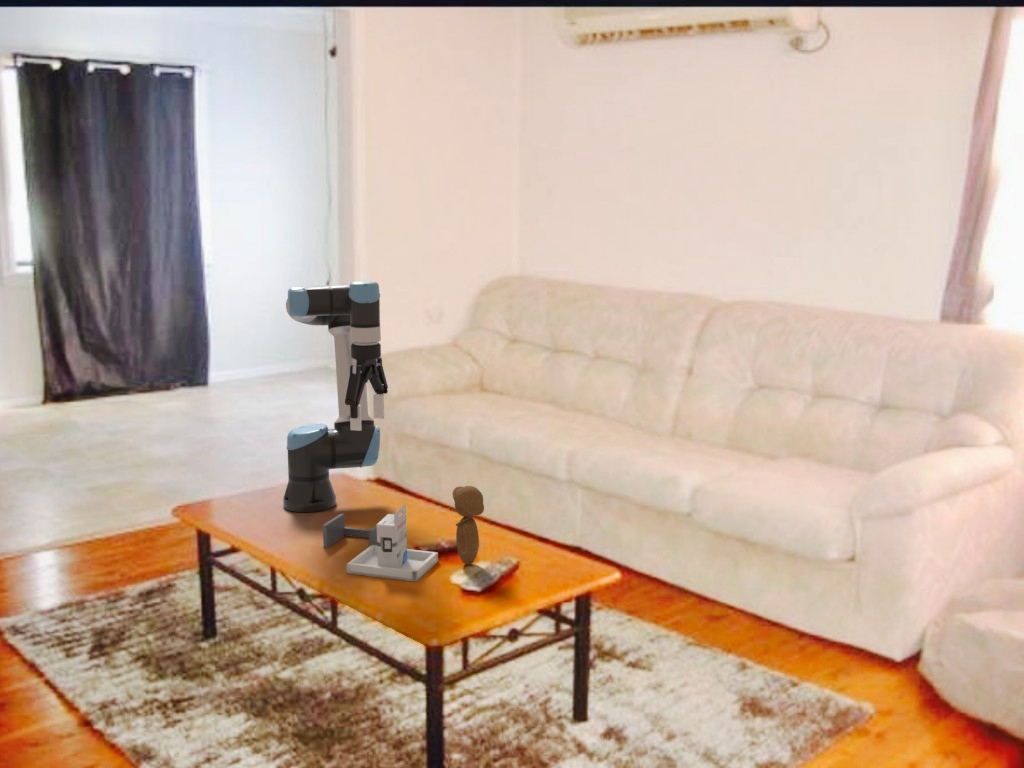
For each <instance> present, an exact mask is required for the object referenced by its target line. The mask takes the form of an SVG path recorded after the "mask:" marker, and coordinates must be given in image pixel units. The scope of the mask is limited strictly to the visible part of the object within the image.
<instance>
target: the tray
mask: <svg viewBox="0 0 1024 768" xmlns="http://www.w3.org/2000/svg"><path fill="white" fill-rule="evenodd" d="M438 562H439V552H436V551H427V550H418V549H413V548H412V549H411V548H407V560H406V561H405V562H404V564H403V565H402V566H401V567H400V568H399V569H398V568H390V567H382V566H378V557H377V545H371V546H370V547H369V546H368V547H367V548H366V549H365V550H363V551H362V552H360V553H358V555H356V556H355V557H354V558H353V559H351V560H350V561H348V562H347V563H346V574H351V575H359V576H367V577H374V578H380V579H381V578H382V579H390V580H398V581H403V582H404V581H407V582H418V581H419V580H420V579H421V578H422V577H423V576H424V575H425V574H426V573H427V572H429V571H430V570H431V569H432V568H433V567H434V566H435V565H436V564H437V563H438Z"/></svg>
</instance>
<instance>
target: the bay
mask: <svg viewBox="0 0 1024 768" xmlns="http://www.w3.org/2000/svg"><path fill="white" fill-rule="evenodd" d="M345 524H346V523H345V514H344V513H339V514H337V515H336V516H335V517H333V518H332V519H330V520H329V521H326V522H325V523H324V524H323V525H322V537H323V541H322V542H323V548H326V549H328V548H329V547H330V546H332V545H333V544H335V543H336V542H338V541H339V540H341V539H342V538H343V537H344V536H346V537H348V536H349V537H355V538H356V537H357V538H362V539H365V538H366V539H368V547H370V546H371V545H377V524H376V525H373V527H371V528H370V529H368V528H367V529H366V528H359V527H358V528H356V527H349V526H348V527H347V526H345Z"/></svg>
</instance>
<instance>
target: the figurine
mask: <svg viewBox="0 0 1024 768" xmlns="http://www.w3.org/2000/svg"><path fill="white" fill-rule="evenodd" d="M452 499H453V501H454V508H455V511H456V512H457V514H458V515H460V516H461V517H462V518H460V520H459V521H458V522H457V523H455V526H456V534H455V535H456V538H455V540H456V549H457V553H458V556H459V559H460V560H461V562H462V563H463V564H464V565H465V566H466V565H467V566H469V565H472V564H473V563H474V562H475V560H476V558H477V555H478V552H479V543H480V537H479V530H478V526H477V522H476V520H475V518H473V516H479V515H482V514H483V513H484V511H485V506H484V497H483V493H482V492H481V490H479V489H478V488H477V487H476V486H472V485H466V486H456V487H455V488H453V491H452Z"/></svg>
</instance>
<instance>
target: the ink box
mask: <svg viewBox="0 0 1024 768" xmlns="http://www.w3.org/2000/svg"><path fill="white" fill-rule="evenodd" d="M376 525H377V557H378V566H382V567H390V568H398V569H399V568H400V567H401V566H402V565H403V564H404V562H405V561H406V560H407V549H408V542H407V540H408V538H407V537H408V535H407V505H406V503H404V504H403V505H402V506H400V507H399V508H398V509H397V510H396V511H395V512H394V513H388V514H386V515H385V516H384V517H383V518H382V519H381V520H380V521H378V523H377V524H376Z"/></svg>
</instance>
